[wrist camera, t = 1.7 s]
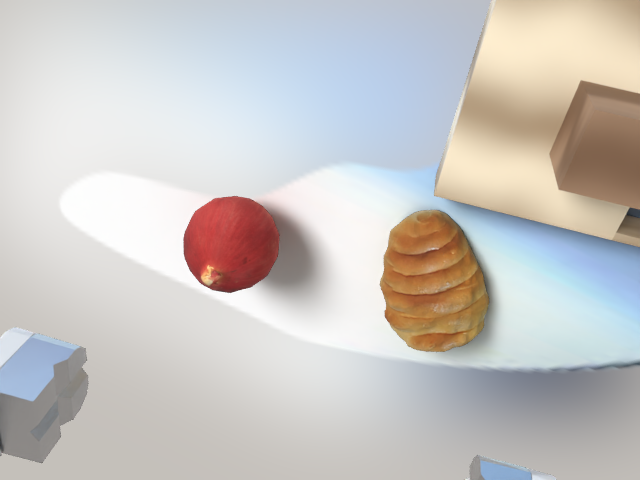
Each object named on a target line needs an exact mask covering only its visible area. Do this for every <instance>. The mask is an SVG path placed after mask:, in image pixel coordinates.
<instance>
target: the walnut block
mask: <svg viewBox="0 0 640 480" xmlns="http://www.w3.org/2000/svg"><path fill="white" fill-rule="evenodd" d="M549 155H550V159H551V162H552V166H553V170H554V174H555V178H556V182H557V185H558V189H559V190H562V191H566V192H570V193H574V194H578V195H582V196H586V197H591V198H595V199H599V200H603V201H607V202H611V203H615V204H619V205H623V206H627V207H631V208H635V209H639V210H640V94H639V93H635V92H631V91H626V90H622V89H618V88H613V87H609V86H605V85H600V84H596V83H592V82H587V81H583V80H581V81H580V83H579V85H578V88H577V90H576V92H575V95H574V97H573V99H572V102H571V104H570V107H569V109H568V111H567V114H566V116H565V118H564V121H563V123H562V125H561V128H560V130H559V132H558V135H557V137H556V139H555V142H554V144H553V146H552V149H551V151H550V153H549Z"/></svg>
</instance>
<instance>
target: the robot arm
mask: <svg viewBox="0 0 640 480" xmlns="http://www.w3.org/2000/svg"><path fill="white" fill-rule="evenodd" d="M86 361H87V357H86V349H85V348H83V347H81V346H78V345H74V344H71V343H68V342H64V341H61V340H58V339H55V338H51V337H48V336H45V335H41V334H37V333H34V332H30V331H27V330H24V329H20V328H17V327H14V328H12V329H10V330H8V331H6V332H5V333H4V334H3V335H2V336H1V337H0V456H1V453H5V454H8V455H12V456H16V457H20V458H24V459H28V460H32V461H35V462H39V463H43V461H44V460H45V458H46V457H47V456H48V454H49V453H50V451H51V450H52V448H53V447H54V446H55V444H56V443H57V442H58V440H59V439H60V437H61V432H60V426H61V425H63V424H65V423H67V422H69V421H71V420H73V419H74V417H75V416H76V414H77V413H78V412H79V410H80V409H81V406H82V404H83V402H84V399H85V397H86V394H87V389H88V375H87V374H86V372H85V371H84V370H83V368H82V366H83V364H84V363H85V362H86ZM464 480H557V479H556V478H555V476H553V475H550V474H546V473H542V472H539V471H535V470H531V469H527V468H526V467H522V466H518V465H514V464H510V463H506V462H503V461H499V460H495V459H491V458H487V457H484V456H480V455H477V456H476V457H475V458H474V459H473V461H472V463H471V465H470V477H469V478H467V479H464Z"/></svg>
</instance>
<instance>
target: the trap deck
mask: <svg viewBox="0 0 640 480" xmlns="http://www.w3.org/2000/svg"><path fill="white" fill-rule="evenodd" d="M581 80H583V81H587V82H592V83H596V84H600V85H605V86H609V87H613V88H618V89H622V90H626V91H631V92H635V93H639V94H640V0H491V3H490V6H489V9H488V13H487V16H486V19H485V22H484V25H483V28H482V32H481V35H480V38H479V41H478V44H477V47H476V51H475V54H474V57H473V60H472V63H471V67H470V70H469V73H468V76H467V79H466V83H465V85H464V89H463V92H462V95H461V98H460V102H459V105H458V108H457V111H456V114H455V117H454V121H453V124H452V127H451V130H450V133H449V136H448V139H447V142H446V146H445V149H444V152H443V155H442V158H441V161H440V165H439V168H438V171H437V174H436V180H435V190H434V196H437V197H441V198H445V199H449V200H453V201H457V202H461V203H465V204H469V205H473V206H477V207H481V208H485V209H489V210H493V211H497V212H501V213H505V214H509V215H513V216H517V217H521V218H525V219H529V220H533V221H537V222H541V223H545V224H549V225H553V226H557V227H561V228H565V229H569V230H573V231H577V232H581V233H585V234H589V235H593V236H597V237H601V238H605V239H609V240H613V241H617V242H621V243H625V244H629V245H633V246H637V247H640V218H637V217H633V216H629V215H626V213H627V211H628V210H629V208H630V207H627V206H623V205H619V204H615V203H611V202H607V201H603V200H599V199H595V198H591V197H586V196H582V195H578V194H574V193H570V192H566V191H562V190H559V189H558V185H557V182H556V178H555V174H554V170H553V166H552V162H551V159H550V155H549V153H550V151H551V149H552V146H553V144H554V142H555V139H556V137H557V135H558V132H559V130H560V128H561V125H562V123H563V121H564V118H565V116H566V114H567V111H568V109H569V107H570V104H571V102H572V99H573V97H574V95H575V92H576V90H577V88H578V85H579V83H580V81H581Z"/></svg>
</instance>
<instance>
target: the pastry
mask: <svg viewBox="0 0 640 480" xmlns="http://www.w3.org/2000/svg"><path fill="white" fill-rule="evenodd" d="M380 286H381V290H382V292H383V295H384V299H385V301H386V310H385V318H386V319H387V321H388V322H389V323H390V325H391V327H392V329H393V330H394V331H395V332H396V333H397V334H398V335H399V337H400V338H401V339H403V340H404V341H405V342H406V344H407V345H408V346H409V347H411V348H413V349H416V350H421V351H426V352H427V351H431V352H444V351H447V350H450V349H452V348H454V347H460V346H463V345H465V344H467V343H468V342H470V341H472V340H473V339H474V338H475V337H476V336H477V335H478V334H479V333H480V332H481V331H482V329H483V327H484V316H485V314H486V312H487V309H488V305H489V297H488V294H487V291H486V287H485V283H484V277H483V273H482V271H481V269H480V267H479V265H478V263H477V261H476V259H475V257H474V255H473V252H472V250H471V248H470V246H469V244H468V242H467V240H466V238H465V236H464V234H463V232H462V230H461V229H460V227H459V226H458V225H457V224H456V223H455V222H454V221H453V220H452V219H451V218H450V217H449V216H448V215H447V214H446V213H444V212H441V211H439V210H423V211H418V212H415V213H413V214H411V215H410V216H408V217H407V218H405V219H404V220H403V221H401V222H400V223H399V224H398V225H397V226H395V227H394V228H393V229H392V230H391V231H390V236H389V242H388V248H387V250H386V253H385V255H384V273H383V276H382V278H381V281H380Z"/></svg>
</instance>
